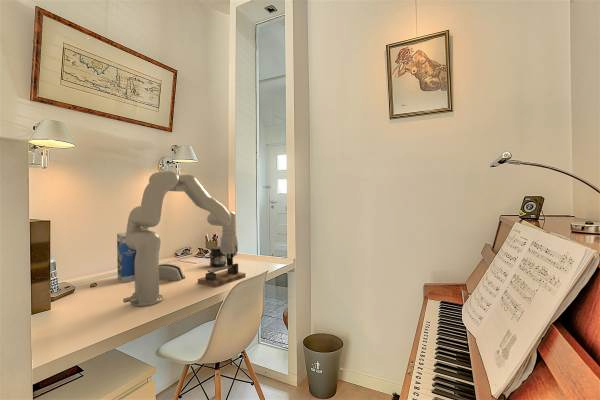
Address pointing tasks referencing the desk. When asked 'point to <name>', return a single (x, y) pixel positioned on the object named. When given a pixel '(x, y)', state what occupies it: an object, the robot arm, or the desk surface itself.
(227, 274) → the strap board
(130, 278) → the string lights box
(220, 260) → the supplement container
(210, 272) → the strap
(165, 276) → the grey curved block
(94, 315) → the desk surface
